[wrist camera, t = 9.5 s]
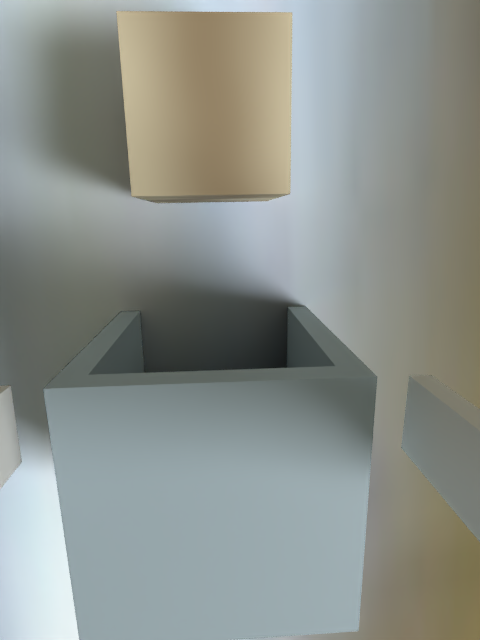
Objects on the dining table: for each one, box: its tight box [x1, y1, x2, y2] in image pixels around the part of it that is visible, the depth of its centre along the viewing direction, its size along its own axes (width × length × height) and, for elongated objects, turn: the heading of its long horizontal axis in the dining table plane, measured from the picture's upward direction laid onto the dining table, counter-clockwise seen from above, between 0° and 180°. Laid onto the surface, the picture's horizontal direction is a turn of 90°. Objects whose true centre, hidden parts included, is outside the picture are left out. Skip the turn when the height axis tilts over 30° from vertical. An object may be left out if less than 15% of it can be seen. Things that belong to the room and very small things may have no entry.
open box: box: [43, 307, 377, 640], centre depth 16 cm, size 9×9×9 cm
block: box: [116, 11, 292, 203], centre depth 15 cm, size 5×5×6 cm
